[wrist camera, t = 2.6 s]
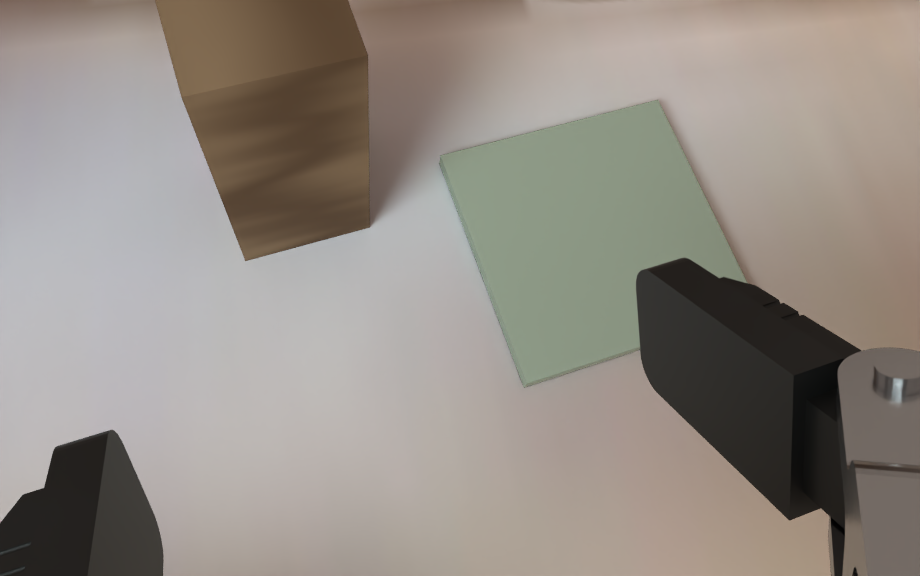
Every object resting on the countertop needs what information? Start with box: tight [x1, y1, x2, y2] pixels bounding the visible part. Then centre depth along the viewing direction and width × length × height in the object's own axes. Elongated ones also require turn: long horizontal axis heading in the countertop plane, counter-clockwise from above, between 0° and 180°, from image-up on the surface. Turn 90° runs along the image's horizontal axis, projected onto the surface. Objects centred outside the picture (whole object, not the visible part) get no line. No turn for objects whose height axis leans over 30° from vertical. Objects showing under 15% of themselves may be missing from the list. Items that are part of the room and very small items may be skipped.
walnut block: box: [155, 0, 370, 261], centre depth 24 cm, size 4×4×10 cm
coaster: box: [439, 100, 747, 387], centre depth 29 cm, size 9×9×1 cm
